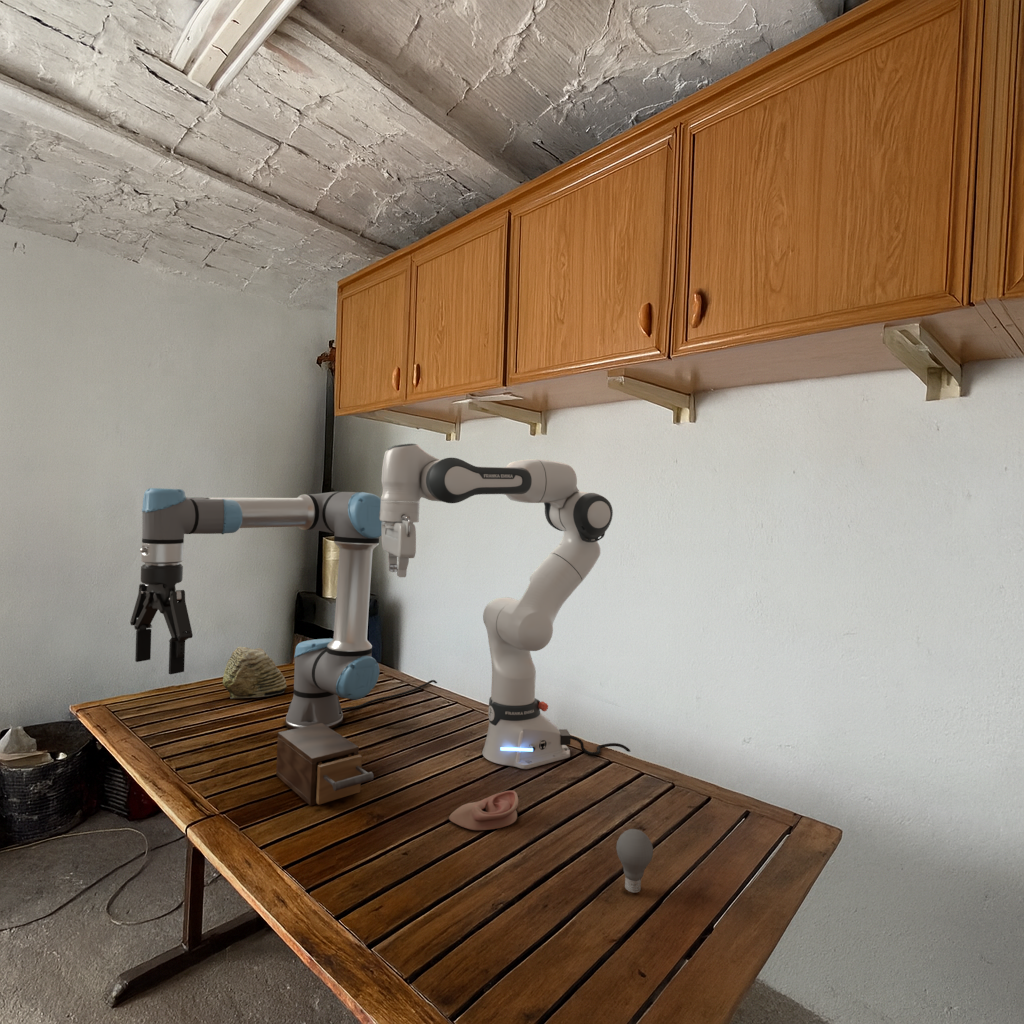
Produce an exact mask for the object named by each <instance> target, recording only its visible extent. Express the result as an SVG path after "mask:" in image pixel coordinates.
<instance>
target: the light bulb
mask: <svg viewBox="0 0 1024 1024" xmlns="http://www.w3.org/2000/svg"><path fill="white" fill-rule="evenodd" d="M615 849H616V854H617V857H618V859H619V861H620V863H621V865H622V867H623V873H624V874H623V875H624V876H625V878H624V888H625V890H627V891H628V892H630V893H634V894H635V893H639V892H640V891H641V889H642V887H641V886H642V879H643V877H644V875H645V871H646V868H647V867H648V866H649V864H650V863H651V861H652V859H653V855H654V847H653V843H652V841H651V838H649V836H648V835H647V834H646V833H645V832H643V831H642V830H641V829H636V828H629V829H627V830H625V831H623V832H622V833H621V834H620V835H619V837H618V839H617V841H616V847H615Z"/></svg>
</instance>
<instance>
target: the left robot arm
mask: <svg viewBox="0 0 1024 1024" xmlns="http://www.w3.org/2000/svg"><path fill="white" fill-rule="evenodd" d="M381 501H384V500H381V497H380V496H379V495H377V494H375V493H371V492H365V491H329V492H322V493H308V494H306V493H305V494H304V493H303V494H300V495H298V496H297V497H209V496H208V497H189V496H186V492H185V490H184V489H181V488H161V487H159V488H157V487H150V488H147V489H146V490H145V491H144V493H143V499H142V508H141V512H142V515H141V516H142V517H141V518H142V520H141V522H142V523H141V525H142V526H141V529H142V530H141V531H142V532H141V533H142V535H141V548H139V552H140V553H141V562H142V563H143V564H142V565H141V566H140V582H141V583H140V584H139V585H138V594H137V597H136V600H135V605H134V608H133V612H132V614H131V618H130V626H133V628H134V630H135V657H134V658H135V659H134V660H135V662H136V663H139V662H144V661H150V660H151V658H152V657H151V655H152V650H151V649H152V629H151V628H153V625H152V622H153V620H154V618H155V617H156V614H157V613H158V611H159V613H160V614H162V615H163V617H164V620H165V623H166V626H167V628H168V632H169V634H170V636H171V637H170V639H169V640H168V642H169V645H168V646H169V650H168V675H175V674H180V673H184V672H185V662H186V661H185V659H186V658H185V655H186V641H188V639H192V638H193V636H194V635H193V630H192V625H191V621H190V616H189V611H188V608H187V603H186V592H185V590H184V589H178V590H177V589H176V585H177V584H179V583H181V582H182V581H183V578H184V577H183V574H184V572H183V571H184V566H183V565H182V564H181V563H183V561H184V549H185V547H184V546H185V545H184V544H185V535H214V534H215V535H216V534H217V535H219V534H221V535H224V534H234V533H236V532H238V531H239V529H250V528H251V529H255V528H256V529H258V528H260V529H261V528H292V527H293V528H295V527H297V528H298V529H299V530H302V531H318V532H325V533H330V534H334V535H333V543H334V544H335V545H336V546H337V547H338V549H339V551H338V567H337V581H336V582H337V583H336V595H335V611H334V624H333V625H334V627H333V638H317V639H308V640H304V641H300V642H299V643H297V645H296V646H295V650H294V655H293V657H294V672H293V673H294V674H293V695H292V696H293V697H292V699H291V702H290V703H289V705H288V711H287V713H286V715H285V726H286V728H287V729H288V730H292V729H296V728H301V727H306V726H310V725H315V724H319V723H323V724H324V725H326V726H327V727H329V728H331V729H332V730H334V729H335V728H337V727H339V726H340V725H342V723H343V722H344V714H343V711H348V710H355V709H360V708H362V707H365V706H367V705H370V704H372V703H375V702H379V701H383V700H388V699H392V698H396V697H400V696H403V695H406V694H409V693H412V692H415V691H417V690H419V689H422V688H423V687H426V686H428V685H429V684H432V683H434V684H438V681H436V680H435V679H431V680H428V681H427V682H426V683H425V682H424V683H423V684H421V685H418V686H416V687H414V688H412V689H409V690H406V691H403V692H400V693H395V694H392V695H387V696H382V697H378V698H375V699H370V700H369V701H366V702H363V703H361V704H359V705H353V706H346V707H342V706H341V702H340V699H339V698H342V699H347V700H353V701H357V700H360V699H363V698H364V697H366V696H368V695H369V694H370V693H371V691H372V690H373V689H374V688H375V687H376V686H377V683H378V680H379V678H380V671H381V670H380V665H379V662H377V660H376V659H375V658H374V657H373V656H372V653H373V645H372V643H371V642H370V641H369V640H368V626H369V613H370V611H369V610H370V597H371V580H372V579H371V578H372V565H373V551H374V549H375V548H377V547H378V546H379V545H380V538H381V537H382V531H381V523H382V521H380V519H379V512H380V505H381Z"/></svg>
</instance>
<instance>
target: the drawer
mask: <svg viewBox="0 0 1024 1024" xmlns="http://www.w3.org/2000/svg"><path fill="white" fill-rule="evenodd" d="M362 761H363V757H362V755H361V754H358V755H355V756H351V754H347V755H343V756H339V757H335V758H331V759H328V760H324V761H320V762H317V767H316V793H315V795H316V803H317V804H316V805H318V806H319V805H322V804H327V803H330V802H333V801H336V800H339V799H342V798H345V797H348V796H352V795H355V794H358V793H361V788H362V787H361V786H362V784H364V783H367V782H371V781H373V780H374V779H375V775H374V773H373V771H366V770H365V769H364V768H362Z"/></svg>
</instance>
